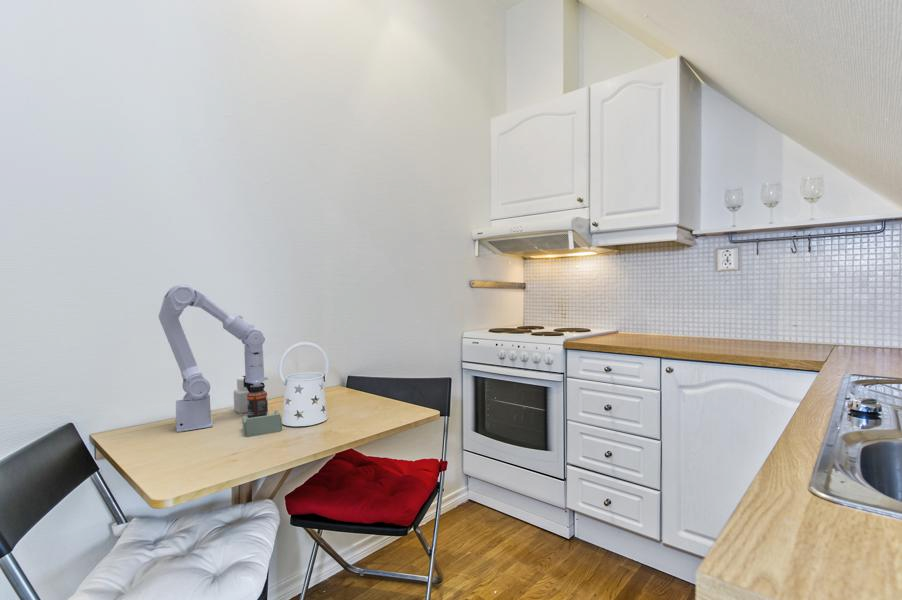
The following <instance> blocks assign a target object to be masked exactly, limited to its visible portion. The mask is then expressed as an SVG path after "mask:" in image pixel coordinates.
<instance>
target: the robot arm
mask: <svg viewBox="0 0 902 600" xmlns="http://www.w3.org/2000/svg"><path fill="white" fill-rule="evenodd" d="M187 307H195V308H200V309H201V310H203V311H204V312H206V313H208V314H210V315H211V316H212V317H214V318H215V319H216V320H218V321H220V322H221V323H222V328H223V329H224V330H225V331H226V332H228V333H230V335H232V336H233V337H235V338H236V339H238V340H241V343H242V344H243V345H244V347H243V348H244V353H243V355H244V376H245V378H246V379H245V382H246V383H251V385H246V388H247V389H248V391H249V392H250V386H252V385H254V386H258V385H260V384H263V386H264V388H265V387H266V385H265V382H264V381H267V380H269V377H268V376H265V369H264V368H265V367H264V350H263V345H264V343H265V342H266V341H265V340H266V338H265V335H264V334H263V333H262V331H260V330H258V329H255V327H256V326H255V325H254V324H251V325H250V323H248V322H247V321H245V320H244V317H243V316H242V315H237V314H235V313H234V314H229V313H227V311H225V310H224V309H222V308H221V307H220V306H219V305H217V304H216V303H215V302H214V301H212V300H211V299H210V298H209V297H208V296H206V295H204V294H203V293H201V292H200V291H198V290H196V289H193V287H191V286H189V285H187V284H178V285H174V286H172V287H171V288H169V289H168V291H167V292H166V293H165V295H164V296H163V300H162V304H161V306H160V310H159V313H158V320H159V321H160V325H161V326H162V329H163V331H164V334H165V337H166V339H167V342H168V344H169V346H170V348H171V351H172V353H173V355H174V359H175V361H176V363H177V366H178V368H179V370H180V375H181V378H182V381H183V382H182V389H183V391H184V392H185V395H184V396H183V398H182V399H179V400H176V401H175V419H174V420H175V427H176V432H177V433H180V432H187V431H193V430H200V429H207V428H212V427H213V419H212V414H211V411H212V410H211V395H210V391H211V383H210V382H209V380H208V379H206V378H205V377H204V376H203V373H202V371H201V369H200V367H199V365H198V363H197V360H196V358H195V356H194V354H193V351H192V348H191V347H190V344H189V341H188V339H187V336H186V334H185V331H184V329H183V326H182V324H181V321H180V316H181V315H182V313H183V311H184V310H185V309H186V308H187Z"/></svg>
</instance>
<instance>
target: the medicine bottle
mask: <svg viewBox="0 0 902 600" xmlns="http://www.w3.org/2000/svg"><path fill="white" fill-rule="evenodd" d="M245 379H246V378H245V375H242V376H239V377H237V378H236V389H234V390H233V410H234V411H235V412H237V413H238V414H241V415H242V414H245V413H247V414H248V404H247V394H248V393H249V391H248V389H247V388H246V385H251V383H246V382H245Z"/></svg>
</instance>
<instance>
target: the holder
mask: <svg viewBox="0 0 902 600" xmlns="http://www.w3.org/2000/svg"><path fill="white" fill-rule="evenodd" d="M282 418H283V417H282V415H281V414H280V412H279V410H274V414H268V415H267V416H260V417H253V418H248V416H247V415H246V414H245V415H242V431H243V434H244V437H249V438H250V437H254V436H261V435H267V434H273V433H278V432H281V431H282V430H283V427H282V426H283V423H282V421H283V420H282Z"/></svg>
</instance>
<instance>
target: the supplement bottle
mask: <svg viewBox="0 0 902 600" xmlns="http://www.w3.org/2000/svg"><path fill="white" fill-rule="evenodd" d="M268 402H269V401H268V392H267V391H266V390H265V387H264V386H263V384H260V385H258V386H254V385H252V386H250V392H249V393H248V394H247V404H248V412H247V418H253V417H260V416H267V415H269V409H268V407H269V406H268Z"/></svg>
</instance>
